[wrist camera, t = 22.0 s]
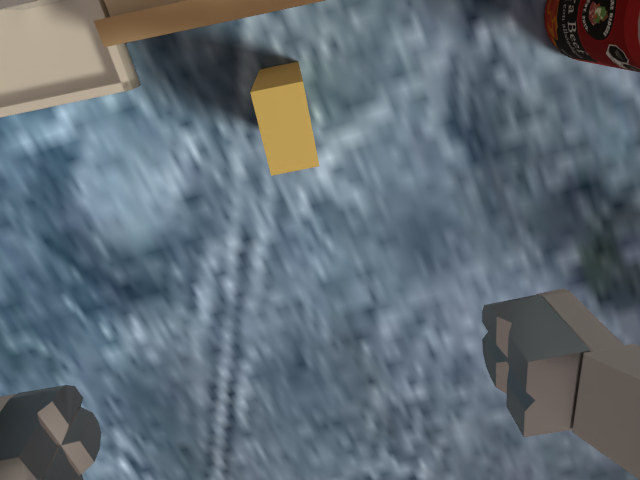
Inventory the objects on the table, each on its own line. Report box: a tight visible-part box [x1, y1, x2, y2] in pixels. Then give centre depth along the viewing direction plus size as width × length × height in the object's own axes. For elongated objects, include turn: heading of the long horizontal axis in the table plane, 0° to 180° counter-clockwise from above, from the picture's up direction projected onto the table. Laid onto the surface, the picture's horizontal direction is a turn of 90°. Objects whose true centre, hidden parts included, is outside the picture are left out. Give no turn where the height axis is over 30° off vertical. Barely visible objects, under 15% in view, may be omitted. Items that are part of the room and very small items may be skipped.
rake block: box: [250, 62, 319, 176], centre depth 30 cm, size 5×3×10 cm, turn 11°
